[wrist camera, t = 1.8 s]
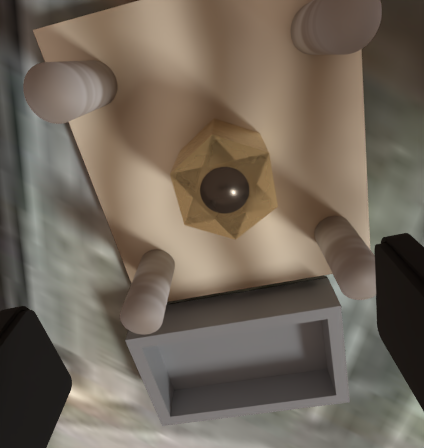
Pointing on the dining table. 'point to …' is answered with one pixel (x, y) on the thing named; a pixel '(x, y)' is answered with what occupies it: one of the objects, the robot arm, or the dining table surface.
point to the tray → (245, 354)
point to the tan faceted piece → (224, 180)
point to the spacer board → (228, 112)
